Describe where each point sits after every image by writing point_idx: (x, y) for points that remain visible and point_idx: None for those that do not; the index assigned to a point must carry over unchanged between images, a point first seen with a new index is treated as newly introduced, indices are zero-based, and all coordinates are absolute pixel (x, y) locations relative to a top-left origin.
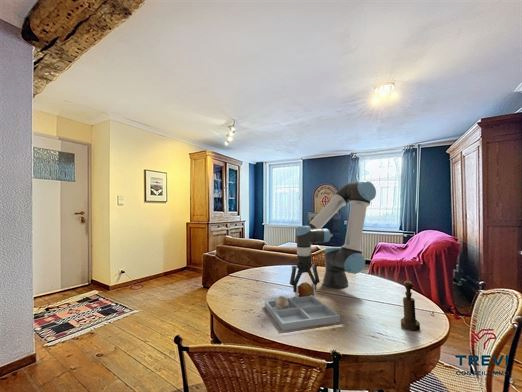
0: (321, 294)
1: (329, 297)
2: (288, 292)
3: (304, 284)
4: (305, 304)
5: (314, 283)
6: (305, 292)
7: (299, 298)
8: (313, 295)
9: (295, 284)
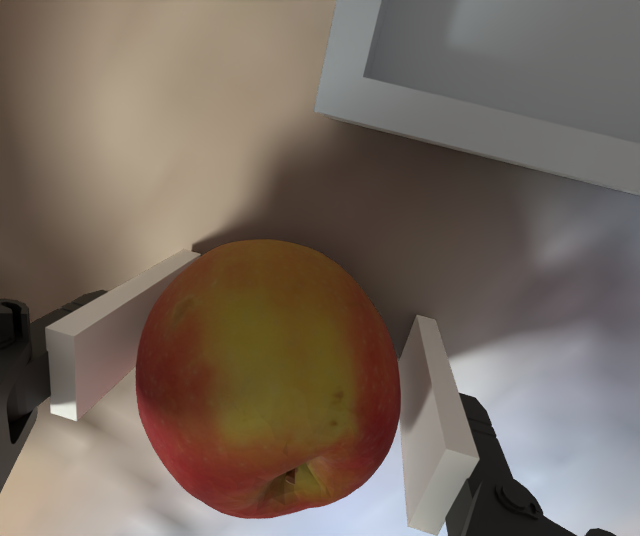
0: (66, 286)
1: (23, 155)
2: (353, 516)
3: (283, 421)
4: (554, 23)
5: (25, 353)
6: (343, 280)
7: (625, 143)
8: None
9: (525, 523)
